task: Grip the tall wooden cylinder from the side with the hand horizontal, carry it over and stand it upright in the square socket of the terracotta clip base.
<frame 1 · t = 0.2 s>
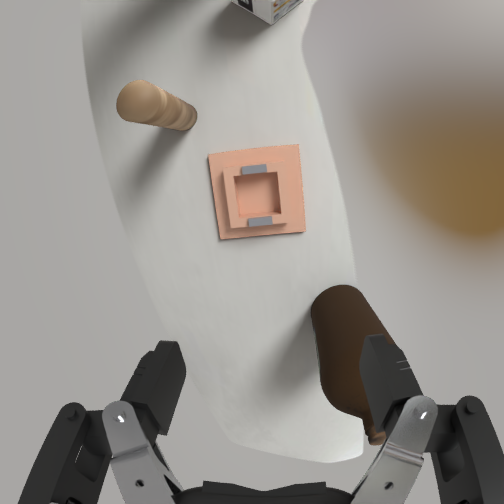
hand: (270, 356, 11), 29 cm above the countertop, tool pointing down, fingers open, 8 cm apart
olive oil: (337, 308, 43), on the countertop
clip base: (258, 191, 37), on the countertop
tall wooden cylinder: (183, 117, 34), on the countertop
container: (268, 0, 26), on the countertop
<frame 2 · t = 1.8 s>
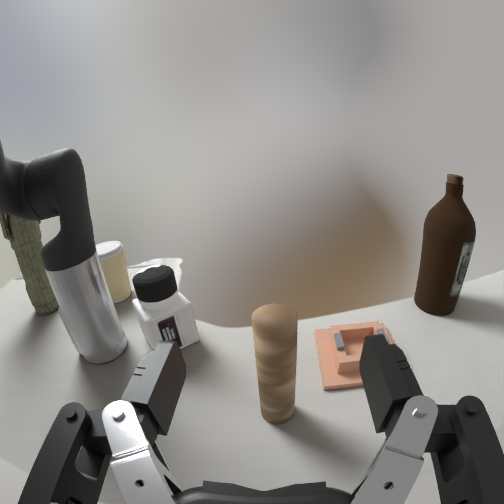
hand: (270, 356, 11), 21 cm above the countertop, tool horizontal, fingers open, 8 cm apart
coffee cup: (117, 295, 58), on the countertop
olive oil: (434, 303, 45), on the countertop
clip base: (357, 355, 36), on the countertop
thermos: (49, 307, 54), on the countertop
tall wooden cylinder: (277, 410, 29), on the countertop
container: (171, 339, 44), on the countertop
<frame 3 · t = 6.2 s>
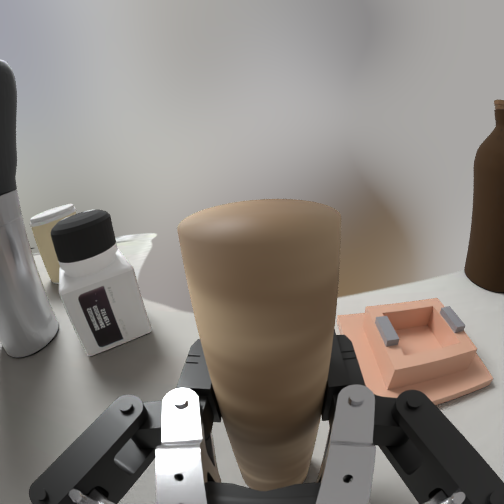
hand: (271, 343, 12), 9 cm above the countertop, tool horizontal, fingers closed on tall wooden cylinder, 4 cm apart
coffee cup: (69, 275, 42), on the countertop
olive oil: (489, 278, 28), on the countertop
clip base: (412, 354, 20), on the countertop
tall wooden cylinder: (274, 468, 12), on the countertop, touching gripper
container: (113, 329, 27), on the countertop
when the fingers open (10 cm above the countertop, at t = 11.3 s): tall wooden cylinder stays where it is, resting on clip base.
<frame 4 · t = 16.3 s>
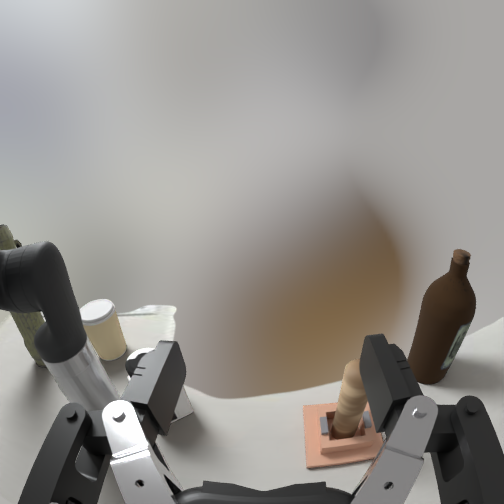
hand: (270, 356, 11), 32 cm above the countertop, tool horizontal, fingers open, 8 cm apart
coffee cup: (112, 351, 56), on the countertop
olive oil: (426, 368, 43), on the countertop
clip base: (342, 432, 34), on the countertop
thermos: (48, 357, 52), on the countertop
tall wooden cylinder: (343, 430, 34), point 1 cm above the countertop, touching clip base
container: (166, 408, 42), on the countertop
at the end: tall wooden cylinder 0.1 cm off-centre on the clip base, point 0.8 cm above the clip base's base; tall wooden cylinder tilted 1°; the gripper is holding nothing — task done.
